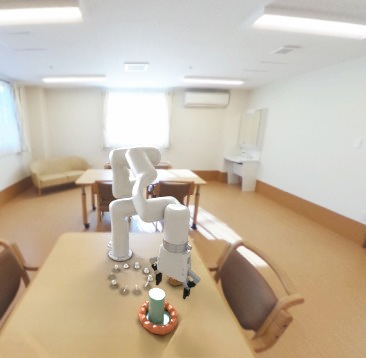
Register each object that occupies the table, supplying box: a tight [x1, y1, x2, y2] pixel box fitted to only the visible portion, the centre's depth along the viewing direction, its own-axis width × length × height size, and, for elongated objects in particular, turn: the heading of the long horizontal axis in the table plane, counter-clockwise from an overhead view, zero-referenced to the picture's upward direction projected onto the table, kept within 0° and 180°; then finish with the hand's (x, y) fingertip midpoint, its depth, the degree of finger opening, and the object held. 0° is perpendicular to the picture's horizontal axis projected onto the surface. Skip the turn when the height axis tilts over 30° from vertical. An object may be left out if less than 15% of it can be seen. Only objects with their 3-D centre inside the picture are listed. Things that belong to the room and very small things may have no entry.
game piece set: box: [110, 261, 154, 292], centre depth 97 cm, size 19×20×4 cm
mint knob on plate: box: [138, 287, 171, 326], centre depth 75 cm, size 9×9×11 cm
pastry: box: [168, 276, 183, 287], centre depth 95 cm, size 9×7×4 cm
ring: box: [138, 299, 179, 336], centre depth 75 cm, size 14×14×2 cm
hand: (171, 289), depth 70 cm, fingers open, 9 cm apart
